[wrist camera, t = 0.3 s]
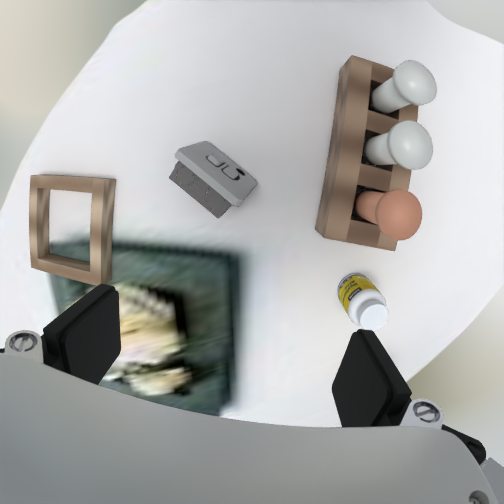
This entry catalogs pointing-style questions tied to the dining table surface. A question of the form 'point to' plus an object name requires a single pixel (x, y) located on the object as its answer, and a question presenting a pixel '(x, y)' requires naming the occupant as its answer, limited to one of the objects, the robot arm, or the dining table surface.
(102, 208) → the square wooden frame
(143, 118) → the dining table surface
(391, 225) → the terracotta plug
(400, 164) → the grey plug
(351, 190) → the block
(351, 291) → the supplement bottle
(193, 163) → the electrical switch
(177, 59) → the dining table surface
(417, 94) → the grey plug
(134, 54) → the dining table surface
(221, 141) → the dining table surface
